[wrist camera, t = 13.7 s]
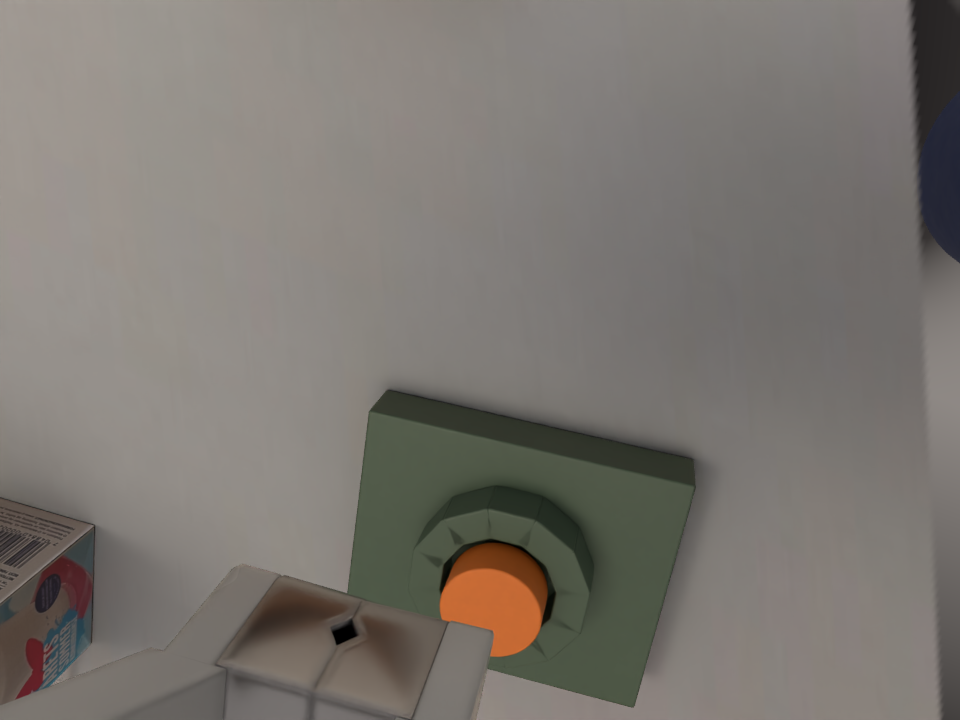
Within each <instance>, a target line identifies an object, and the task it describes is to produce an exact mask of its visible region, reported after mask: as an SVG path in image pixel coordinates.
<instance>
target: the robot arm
mask: <svg viewBox="0 0 960 720" xmlns="http://www.w3.org/2000/svg"><path fill="white" fill-rule="evenodd" d="M493 640H494V633H493V630H489V629H485V628H481V627H477V626H472V625H468V624H464V623H460V622H456V621H450V622H449V621H445V620H442V619H438V618H434V617H430V616H426V615H423V614H419V613H415V612H411V611H407V610H404V609H400V608H396V607H392V606H388V605H385V604H381V603H377V602H373V601H370V600H366V599H364V598H361V597H358V596H354V595H351V594H347V593H344V592H340V591H337V590H334V589H330V588H327V587H323V586H320V585H317V584H313V583H310V582H306V581H303V580H300V579H296V578H293V577H289V576H286V575H283V576H282V575H280V574H278V573H274V572H270V571H267V570H263V569H260V568H256V567H253V566H249V565H245V564H241V565H239V566H236V567H234V568H233V569H231V571H230V572H229V573H228V574H227V575H226V577H225V578H224V579H223V580H222V581H221V583H220V584H219V585H218V586H217V587H216V589H215V590H214V591H213V592H212V593H211V595H210V596H209V597H208V598H207V599H206V601H205V602H204V603H203V604H202V605H201V607H200V608H199V609H198V610H197V611H196V613H195V614H194V615H193V616H192V617H191V619H190V620H189V621H188V622H187V623H186V625H185V626H184V627H183V628H182V629H181V631H180V632H179V633H178V634H177V635H176V637H175V638H174V639H173V640H172V641H171V643H170V644H169V645H168V646H167V647H166V649H165V650H164V651H161V650H158V649H154V648H149V649H146V650H143V651H141V652H138V653H136V654H133V655H130V656H128V657H125V658H123V659H120V660H117V661H115V662H112V663H110V664H107V665H104V666H102V667H99V668H97V669H94V670H91V671H89V672H86V673H84V674H81V675H78V676H76V677H73V678H71V679H68V680H65V681H63V682H60V683H58V684H55V685H52V686H50V687H47V688H44V689H42V690H39V691H37V692H34V693H31V694H29V695H26V696H24V697H21V698H18V699H16V700H13V701H11V702H8V703H5V704H3V705H0V720H476V719H477V714H478V710H479V705H480V700H481V696H482V691H483V687H484V682H485V678H486V673H487V668H488V664H489V659H490V655H491V650H492V646H493Z"/></svg>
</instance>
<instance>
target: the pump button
mask: <svg viewBox="0 0 960 720" xmlns="http://www.w3.org/2000/svg"><path fill="white" fill-rule="evenodd" d="M547 595H548V587H547V581H546V578H545V575H544V573H543V571H542V570H541V568H540V566H539V565H538V564H537V563H536V561H535V560H534V559H533V558H532V557H530V556H529V555H528V554H527V553H525V552H524V551H522V550H520V549H518V548H516V547H514V546H511V545H507V544H503V543H484V544H480V545H476V546H474V547H472V548H470V549H468V550H466V551H465V552H464V553H462V554H461V555H460V556H459V557H458V559H457V560H456V562H455V563H454V565H453V567H452V570H451V572H450V575H449V577H448V579H447V582H446V584H445V587H444V589H443V592H442V594H441V598H440V614H441V618H442V620H445V621H449V622H450V621H456V622H460V623H464V624H468V625H472V626H477V627H481V628H485V629H489V630H493V633H494V640H493V646H492V650H491V655H490V656H492V657H503V656H509V655H513V654H516V653H518V652H520V651H522V650H524V649H525V648H527V647H528V646H529V645H530V644H531V643H532V642H533V641H534V640H535V639H536V637H537V635H538V633H539V631H540V628H541V624H542V620H543V615H544V610H545V606H546V601H547Z"/></svg>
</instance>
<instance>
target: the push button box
mask: <svg viewBox="0 0 960 720" xmlns="http://www.w3.org/2000/svg"><path fill="white" fill-rule="evenodd" d="M695 488H696V485H695V471H694V461H693V460H692V459H688V458H683V457H679V456H675V455H670V454H666V453H661V452H657V451H653V450H648V449H644V448H639V447H635V446H631V445H626V444H622V443H617V442H613V441H609V440H604V439H600V438H596V437H591V436H587V435H582V434H578V433H574V432H569V431H565V430H560V429H556V428H552V427H547V426H543V425H538V424H534V423H530V422H525V421H521V420H517V419H512V418H508V417H503V416H499V415H495V414H490V413H486V412H481V411H477V410H473V409H468V408H464V407H459V406H455V405H451V404H446V403H442V402H438V401H433V400H429V399H424V398H420V397H416V396H411V395H407V394H402V393H398V392H394V391H389V390H387V391H385V393H384V394H383V395H382V396H381V397H380V399H379V400H378V401H377V402H376V404H375V405H374V406H373V407H372V408H371V410H370V411H369V416H368V424H367V433H366V441H365V450H364V458H363V466H362V475H361V483H360V492H359V500H358V508H357V517H356V525H355V534H354V542H353V550H352V559H351V567H350V576H349V584H348V592H347V594H351V595H354V596H358V597H361V598H364V599H366V600H370V601H373V602H377V603H381V604H385V605H388V606H392V607H396V608H400V609H404V610H407V611H411V612H415V613H419V614H423V615H426V616H430V617H434V618H438V619H442V618H441V614H440V598H441V594H442V592H443V589H444V587H445V584H446V582H447V579H448V577H449V575H450V572H451V570H452V567H453V565H454V563H455V562H456V560H457V559H458V557H459V556H460V555H461V554H462V553H464V552H465V551H466V550H468V549H470V548H472V547H474V546H476V545H480V544H484V543H503V544H507V545H511V546H514V547H516V548H518V549H520V550H522V551H524V552H525V553H527V554H528V555H529V556H530V557H532V558H533V559H534V560H535V561H536V563H537V564H538V565H539V566H540V568H541V570H542V571H543V573H544V575H545V578H546V581H547V587H548V595H547V601H546V606H545V610H544V615H543V620H542V624H541V628H540V631H539V633H538V635H537V637H536V639H535V640H534V641H533V642H532V643H531V644H530V645H529V646H528V647H527V648H525V649H524V650H522V651H520V652H518V653H516V654H513V655H509V656H503V657H492V656H490V659H489V664H488V668H487V669H490V670H494V671H498V672H501V673H505V674H509V675H513V676H516V677H520V678H524V679H527V680H531V681H535V682H539V683H542V684H546V685H550V686H554V687H557V688H561V689H565V690H568V691H572V692H576V693H580V694H583V695H587V696H591V697H595V698H598V699H602V700H606V701H609V702H613V703H617V704H621V705H624V706H628V707H634V706H635V702H636V699H637V695H638V692H639V688H640V684H641V681H642V677H643V674H644V670H645V667H646V663H647V660H648V656H649V652H650V649H651V645H652V642H653V638H654V635H655V631H656V627H657V624H658V620H659V617H660V613H661V610H662V606H663V602H664V599H665V595H666V592H667V588H668V585H669V581H670V577H671V574H672V570H673V567H674V563H675V560H676V556H677V552H678V549H679V545H680V542H681V538H682V535H683V531H684V527H685V524H686V520H687V517H688V513H689V510H690V506H691V503H692V499H693V495H694V492H695Z"/></svg>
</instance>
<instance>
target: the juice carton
mask: <svg viewBox="0 0 960 720" xmlns="http://www.w3.org/2000/svg"><path fill="white" fill-rule="evenodd" d="M93 565H94V525H90V524H87V523H84V522H80V521H77V520H73V519H70V518H66V517H63V516H60V515H56V514H53V513H49V512H46V511H43V510H39V509H36V508H32V507H29V506H25V505H22V504H19V503H15V502H12V501H8V500H5V499H2V498H0V705H3V704H5V703H8V702H11V701H13V700H16V699H18V698H21V697H24V696H26V695H29V694H31V693H34V692H37V691H39V690H42V689H44V688H47V687H49V686H50V685H51V684H52V683H53V682H54V681H55V680H56V679H57V678H58V677H59V676H60V675H61V674H62V673H63V672H64V671H65V670H66V669H67V668H68V667H69V666H70V665H71V664H72V663H73V662H74V661H75V660H76V659H77V658H78V657H79V656H80V655H81V654H82V653H83V652H84V651H85V649H86V648H87V647H88V646H89V645H90V644H91V643H92V605H93Z"/></svg>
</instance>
